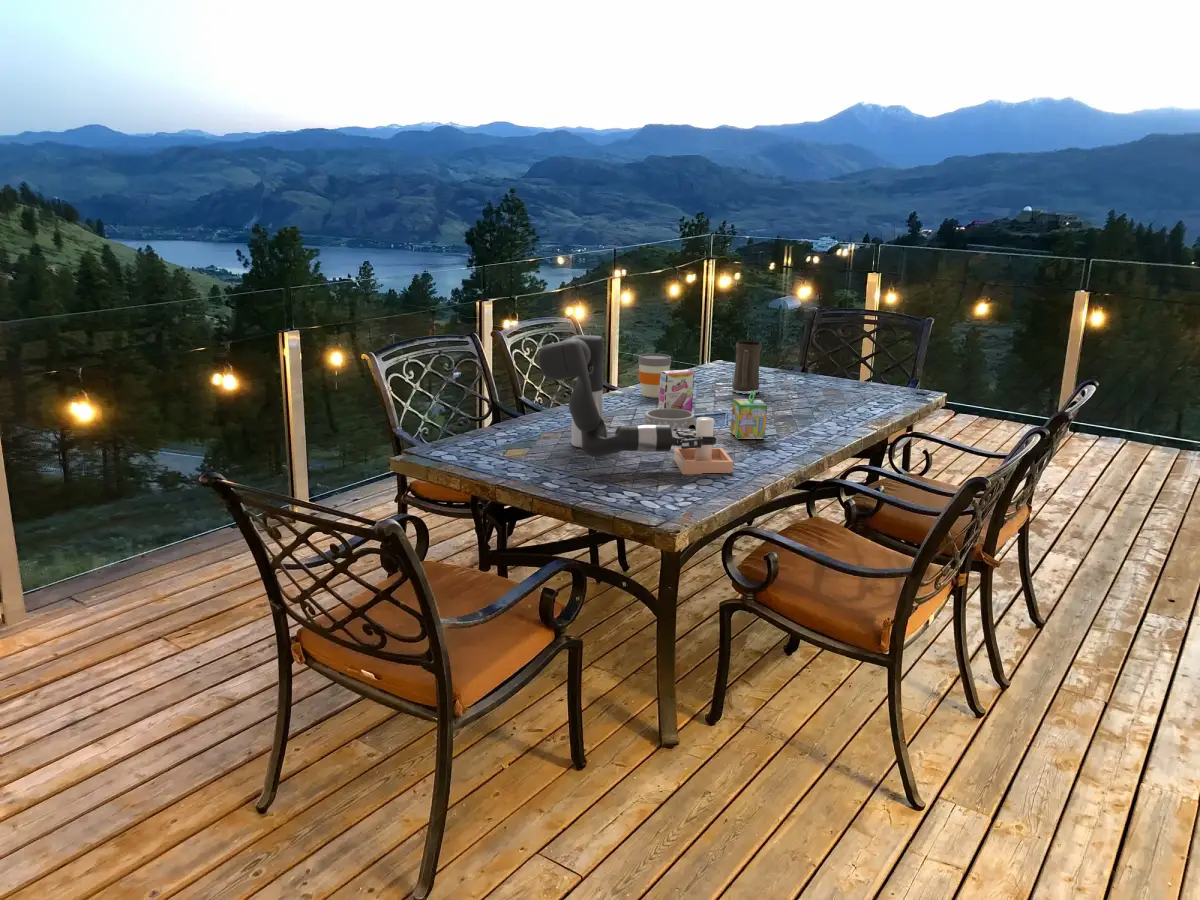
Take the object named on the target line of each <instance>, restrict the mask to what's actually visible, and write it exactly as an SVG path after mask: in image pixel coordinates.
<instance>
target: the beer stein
mask: <svg viewBox="0 0 1200 900" xmlns="http://www.w3.org/2000/svg"><path fill="white" fill-rule="evenodd" d="M735 349H736V352H735V354H736V355H735V364H734V365H735V366H734V373H733V374H734V376H733V382H732V388H733V389H734V390H738V391H751V390H752V391H754V390H758V389H759V390H760V362H761V361H760V360H761V358H760V357H761V351H762V349H763V347H762V342H759V341H756V340H740V341H737V342H736V343H735Z"/></svg>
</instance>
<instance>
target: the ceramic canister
mask: <svg viewBox="0 0 1200 900" xmlns="http://www.w3.org/2000/svg"><path fill="white" fill-rule="evenodd" d="M714 425H715V418H713V417H707V416H700V417H696V428H695V431H696V436H702V437H714V427H715V426H714ZM695 443H697V441H695ZM713 447H714V445H702V446H701V448H695V459H694V460H695V461H712V448H713Z"/></svg>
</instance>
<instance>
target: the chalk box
mask: <svg viewBox="0 0 1200 900" xmlns="http://www.w3.org/2000/svg"><path fill="white" fill-rule="evenodd" d="M756 395H757V394H756V393H755V392H754V391H752V390H751V393H750V395H749V396H748V398H733V399H732V407H731V418H730V427H729V429H730V430H729V432H730V431H731V432H732V433H733V434H734V435H735V436H736V437H737V438H751V437H765V436H766V423H767V411H768V404H766V402H764V401H763V400H762V399H759V398H756ZM765 438H766V437H765Z"/></svg>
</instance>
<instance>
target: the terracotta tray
mask: <svg viewBox="0 0 1200 900" xmlns="http://www.w3.org/2000/svg"><path fill="white" fill-rule="evenodd" d="M694 459H695V448H690V449H681V447H674V449H673V461H674V462H675V465H676V466H677V467H678V469H679V471H680V472H681V474H682V475H703V474H702V473H729V472H733V473H734V460H733V459H732V458H731V456H730V455H729V454H728V453H727V452H726V451H725V449H724V448H723V447H712V461H695V460H694Z"/></svg>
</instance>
